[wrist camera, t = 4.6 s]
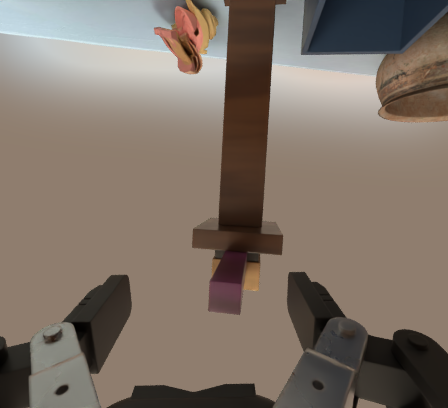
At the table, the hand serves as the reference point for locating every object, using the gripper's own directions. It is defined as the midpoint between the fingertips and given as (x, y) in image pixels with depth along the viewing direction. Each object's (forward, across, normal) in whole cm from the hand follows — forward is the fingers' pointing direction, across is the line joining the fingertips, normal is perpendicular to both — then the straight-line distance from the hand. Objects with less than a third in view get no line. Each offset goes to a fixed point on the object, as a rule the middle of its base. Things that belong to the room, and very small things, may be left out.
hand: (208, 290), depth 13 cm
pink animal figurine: (+33, +5, -26) cm, 42 cm away
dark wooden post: (+23, -5, -27) cm, 36 cm away
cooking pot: (+31, -35, -24) cm, 52 cm away
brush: (+12, -2, +3) cm, 13 cm away
